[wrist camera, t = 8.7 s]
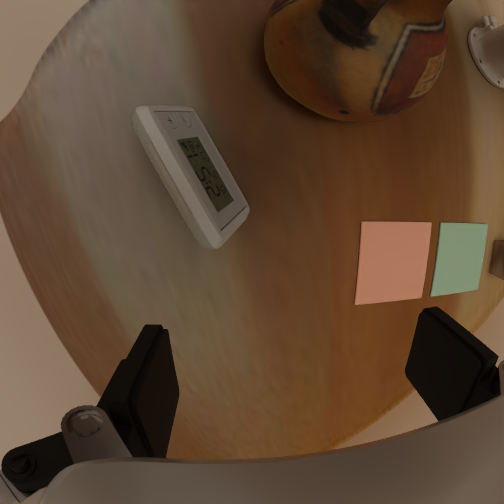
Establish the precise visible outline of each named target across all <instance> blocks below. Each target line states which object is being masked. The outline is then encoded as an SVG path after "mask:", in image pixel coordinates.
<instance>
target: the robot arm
mask: <svg viewBox="0 0 504 504" xmlns="http://www.w3.org/2000/svg"><path fill="white" fill-rule="evenodd" d="M482 19H483V22H484V24H485V26H484V28H482V27H475V28H473V29H471V30H470V32H469V34H468V43H469V48H470V51H471V54H472V57H473V59H474V61H475V63H476V65H477V66H478V68H479V70H480V71H481V73H482V74H483V75H484V76H485V78H486V79H487V80H488V81H489V82H490V83H491V84H493V85H494V86H496V87H498V88H504V25H502V26H499V27H498V23H497V20H496V18H495V17H494V16H491V15H490V16H488V17H487V16H482ZM497 359H498V355H496V354H495V353H494V352H493V351H492V350H490V349H489V348H488V347H487V346H486V345H485V344H483V343H482V342H481V341H480V340H479V339H477V338H476V337H475V336H474V335H473V334H471V333H470V332H469V331H468V330H466V329H465V328H464V327H463V326H462V325H460V324H459V323H458V322H456V321H455V320H454V319H453V318H451V317H450V316H449V315H448V314H446V313H445V312H444V311H442V310H441V309H440V308H439V307H430V308H425V309H423V311H422V312H421V313H420V314H419V317H418V322H417V326H416V330H415V334H414V338H413V342H412V346H411V350H410V354H409V357H408V361H407V364H406V367H405V374H406V377H407V378H408V380H409V381H410V382H411V384H412V385H413V386H414V388H415V389H416V390H417V392H418V393H419V395H420V396H421V397H422V399H423V400H424V401H425V403H426V404H427V406H428V407H429V408H430V410H431V411H432V413H433V414H434V415H435V417H436V418H437V420H438V421H439V422H436V423H433V424H430V425H428V426H425V427H422V428H419V429H416V430H413V431H409V432H406V433H403V434H399V435H396V436H392V437H389V438H385V439H381V440H377V441H373V442H369V443H365V444H360V445H355V446H351V447H346V448H341V449H335V450H329V451H323V452H317V453H310V454H302V455H294V456H284V457H273V458H258V459H231V460H200V459H172V458H166V454H167V449H168V444H169V440H170V435H171V430H172V426H173V421H174V417H175V412H176V408H177V404H178V399H179V386H178V381H177V376H176V371H175V366H174V361H173V355H172V350H171V344H170V338H169V333H168V330H167V329H163V327H162V325H148V324H146V325H145V326H144V327H143V329H142V331H141V333H140V334H139V336H138V338H137V340H136V342H135V343H134V345H133V347H132V349H131V351H130V353H129V354H128V356H127V358H126V359H123V360H122V361H121V362H120V363H119V365H118V367H117V369H116V371H115V373H114V374H113V376H112V378H111V380H110V382H109V384H108V385H107V387H106V389H105V391H104V393H103V395H102V397H101V399H100V401H99V402H98V404H97V406H92V405H83V406H78V407H76V408H73V409H71V410H70V411H69V412H67V413H66V414H65V416H64V417H63V418H62V422H61V430H62V432H59V433H56V434H54V435H51V436H48V437H46V438H43V439H40V440H37V441H34V442H31V443H29V444H25V445H23V446H19V447H16V448H14V449H12V450H10V451H9V452H8V453H7V454H6V455H5V456H4V458H3V460H2V465H1V466H2V469H1V470H0V504H504V361H501V363H500V364H499V366H498V368H497V367H496V366H495V364H496V362H497Z"/></svg>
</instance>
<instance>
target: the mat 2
mask: <svg viewBox="0 0 504 504" xmlns="http://www.w3.org/2000/svg"><path fill="white" fill-rule="evenodd" d="M487 228H488V224H478V223H447V222H440V227H439V237H438V246H437V254H436V261H435V268H434V274H433V280H432V286H431V292H430V296H438V295H446V294H453V293H459V292H466V291H472V290H477V289H478V284H479V279H480V274H481V269H482V263H483V257H484V251H485V244H486V236H487Z"/></svg>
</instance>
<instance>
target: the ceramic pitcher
mask: <svg viewBox="0 0 504 504" xmlns="http://www.w3.org/2000/svg"><path fill="white" fill-rule="evenodd" d="M451 1H452V0H275V2H274V3H273V5H272V7H271V9H270V12H269V15H268V18H267V22H266V26H265V32H264V50H265V58H266V62H267V64H268V67H269V69H270V71H271V73H272V75H273V76H274V78H275V79H276V81H277V83H278V84H279V85H280V87H281V88H282V89H283V90H284V91H285V92H286V93H287V94H288V95H289V96H291V97H292V98H293V99H294V100H296V101H297V102H299V103H300V104H302V105H304V106H305V107H307V108H308V109H310V110H312V111H314V112H316V113H318V114H320V115H322V116H325V117H328V118H331V119H335V120H339V121H346V122H374V121H379V120H384V119H387V118H391V117H393V116H395V115H397V114H399V113H401V112H404V111H405V110H407V109H408V108H410V107H411V106H412V105H414V104H415V103H416V102H418V101H419V100H420V99H421V98H422V97H423V96H424V95H425V94H426V93H427V92H428V90H429V89H430V88H431V87H432V86H433V84H434V83H435V82H436V80H437V78H438V76H439V74H440V72H441V69H442V66H443V62H444V58H445V54H446V48H447V27H446V21H445V17H444V15H443V12H444V10H445V9H446V7H447V5H448V4H449V3H450V2H451Z"/></svg>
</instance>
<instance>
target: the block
mask: <svg viewBox="0 0 504 504" xmlns="http://www.w3.org/2000/svg"><path fill="white" fill-rule="evenodd" d="M489 273H491V274H493V275H495V276H497V277H499V278H501V279H503V280H504V240H495V241H494V244H493V251H492V257H491V263H490V269H489Z"/></svg>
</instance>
